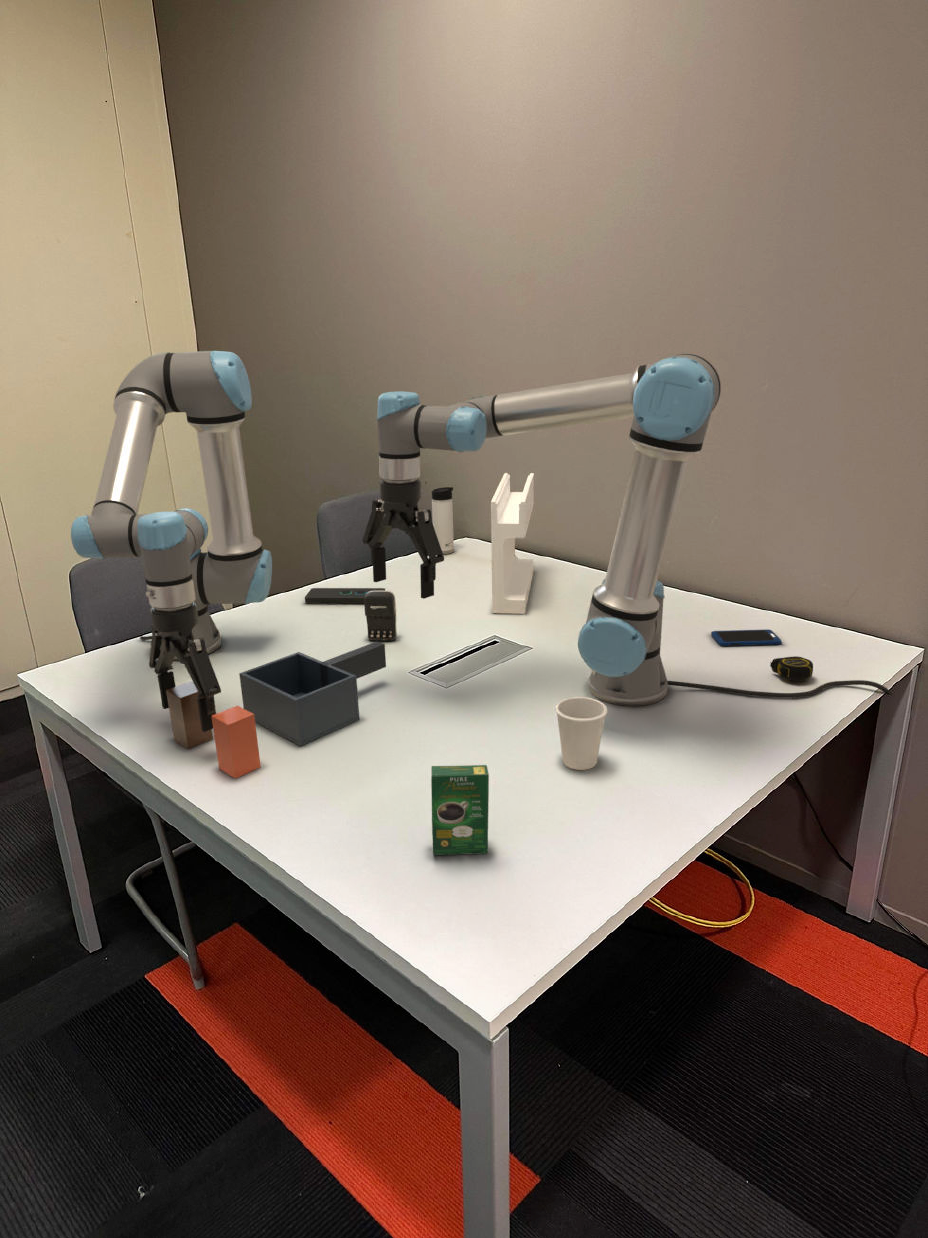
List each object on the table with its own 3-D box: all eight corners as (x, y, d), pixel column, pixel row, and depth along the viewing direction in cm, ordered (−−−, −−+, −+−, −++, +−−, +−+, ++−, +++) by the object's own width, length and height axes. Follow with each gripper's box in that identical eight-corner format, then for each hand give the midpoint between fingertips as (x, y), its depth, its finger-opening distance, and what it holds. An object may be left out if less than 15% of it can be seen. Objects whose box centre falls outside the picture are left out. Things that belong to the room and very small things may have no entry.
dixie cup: (592, 779, 138) (594, 723, 134) (546, 766, 142) (546, 712, 138) (612, 756, 144) (615, 703, 141) (567, 744, 148) (569, 692, 145)
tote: (300, 746, 150) (295, 700, 147) (244, 716, 162) (239, 673, 159) (412, 695, 169) (410, 653, 166) (355, 671, 180) (352, 632, 177)
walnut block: (174, 740, 154) (165, 690, 150) (198, 730, 157) (191, 681, 154) (188, 749, 151) (180, 698, 147) (213, 739, 154) (206, 688, 150)
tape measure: (799, 669, 175) (801, 652, 174) (818, 683, 169) (820, 665, 168) (769, 672, 174) (770, 655, 173) (786, 686, 168) (788, 669, 167)
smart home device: (380, 597, 219) (304, 597, 221) (380, 604, 220) (304, 603, 221) (385, 587, 227) (311, 587, 228) (386, 593, 227) (312, 593, 229)
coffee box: (488, 842, 122) (487, 762, 118) (490, 854, 120) (488, 773, 115) (432, 844, 122) (429, 764, 117) (432, 857, 119) (429, 775, 115)
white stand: (505, 570, 244) (504, 473, 234) (533, 571, 243) (533, 473, 233) (492, 612, 211) (490, 501, 202) (524, 613, 210) (524, 501, 200)
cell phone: (782, 644, 188) (782, 641, 188) (719, 646, 188) (719, 643, 188) (770, 632, 195) (771, 629, 195) (710, 633, 195) (710, 630, 195)
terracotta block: (218, 768, 144) (211, 715, 140) (244, 757, 147) (237, 705, 144) (235, 778, 141) (227, 724, 137) (260, 767, 144) (254, 714, 141)
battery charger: (365, 642, 195) (362, 595, 191) (368, 636, 199) (365, 589, 195) (395, 642, 195) (392, 595, 191) (398, 636, 198) (395, 589, 194)
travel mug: (452, 554, 260) (450, 489, 253) (431, 553, 262) (429, 489, 254) (456, 549, 266) (455, 485, 259) (436, 548, 267) (434, 485, 260)
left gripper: (117, 595, 150) (136, 704, 158) (190, 626, 134) (208, 746, 141) (157, 585, 155) (173, 691, 163) (232, 614, 139) (247, 731, 146)
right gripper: (463, 486, 151) (463, 598, 159) (371, 466, 167) (375, 570, 175) (432, 492, 146) (434, 609, 154) (341, 472, 162) (346, 578, 170)
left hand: (189, 717), depth 152 cm, fingers open, 13 cm apart
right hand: (403, 588), depth 164 cm, fingers open, 13 cm apart
